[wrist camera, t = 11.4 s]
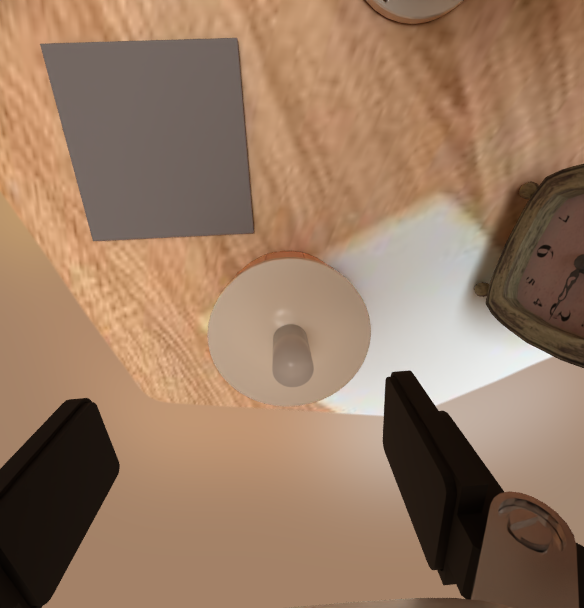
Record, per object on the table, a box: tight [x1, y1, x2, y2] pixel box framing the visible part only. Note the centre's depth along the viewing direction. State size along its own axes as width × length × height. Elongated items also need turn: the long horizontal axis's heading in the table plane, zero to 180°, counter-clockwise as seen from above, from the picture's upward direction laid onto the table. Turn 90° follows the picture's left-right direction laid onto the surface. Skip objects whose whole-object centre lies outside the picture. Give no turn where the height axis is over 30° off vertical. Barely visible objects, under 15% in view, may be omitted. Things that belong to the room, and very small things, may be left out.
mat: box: [40, 38, 254, 241], centre depth 29 cm, size 16×16×1 cm
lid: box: [208, 257, 371, 406], centre depth 27 cm, size 15×15×6 cm
